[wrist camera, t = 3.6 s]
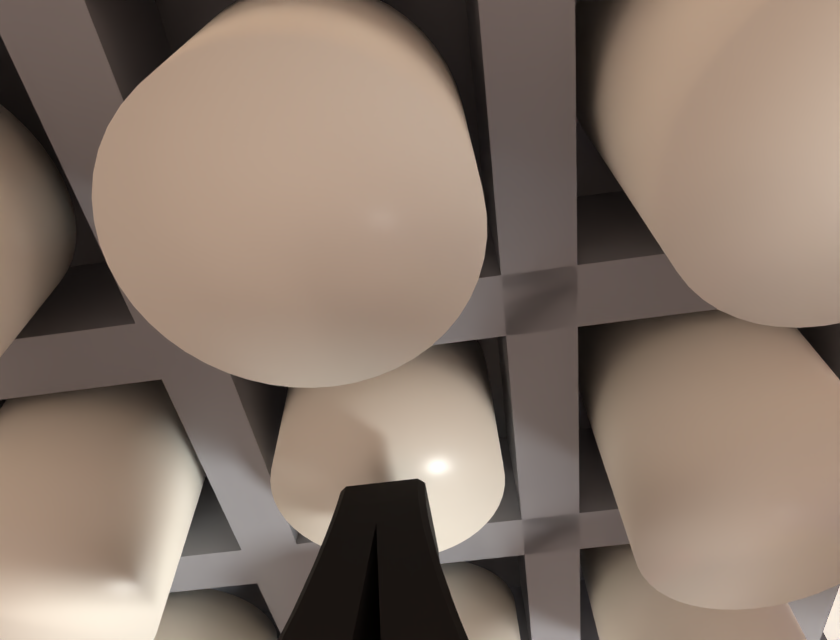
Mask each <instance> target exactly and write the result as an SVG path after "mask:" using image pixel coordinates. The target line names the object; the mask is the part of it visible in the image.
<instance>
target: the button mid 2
mask: <svg viewBox="0 0 840 640" xmlns="http://www.w3.org/2000/svg"><path fill="white" fill-rule="evenodd" d="M441 567H442V570H443V573H444V576H445V579H446V582H447V584H448V587H449V590H450V593H451V596H452V599H453V602H454V604H455V607H456V610H457V612H458V615H459V617H460V620H461V622H462V625H463V627H464V630H465V632H466V634H467V637H468V639H469V640H521V639H520V633H519V626H518V620H517V613H516V606H515V601H514V596H513V594H512V592H511V590H510V588H509V587H508V586H507V584H506V583H505V582H504V581H503V580H502V579H501V578H499V577H498V576H497V575H495V574H494V573H492V572H490V571H488V570H486V569H485V568H482V567H479V566H477V565H474V564H471V563H467V562H463V561H462V562H453V563H444V564H441Z"/></svg>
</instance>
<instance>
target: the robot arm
mask: <svg viewBox="0 0 840 640" xmlns="http://www.w3.org/2000/svg"><path fill="white" fill-rule="evenodd" d="M278 640H469V639H468V637H467V634H466V632H465V630H464V627H463V625H462V622H461V620H460V617H459V615H458V612H457V610H456V607H455V604H454V602H453V599H452V596H451V593H450V590H449V587H448V584H447V582H446V579H445V576H444V573H443V570H442V567H441V564H440V559H439V550H438V545H437V540H436V535H435V530H434V525H433V520H432V515H431V510H430V505H429V500H428V495H427V490H426V485H425V482H423V481H421V480H419V479H418V478H417V479H408V480H399V481H390V482H381V483H372V484H363V485H354V486H346V487H345V488H344V489H343V490H342V491H341V492H340V495H339V499H338V502H337V505H336V508H335V511H334V514H333V516H332V519H331V522H330V525H329V527H328V530H327V533H326V535H325V538H324V540H323V543H322V545H321V548H320V550H319V552H318V555H317V557H316V560H315V562H314V565H313V567H312V569H311V571H310V573H309V576H308V578H307V580H306V582H305V584H304V587H303V589H302V591H301V593H300V596H299V598H298V600H297V602H296V604H295V606H294V609H293V611H292V613H291V615H290V617H289V619H288V621H287V623H286V625H285V627H284V629H283V630H282V632H281V634H280V636H279V638H278Z"/></svg>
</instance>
